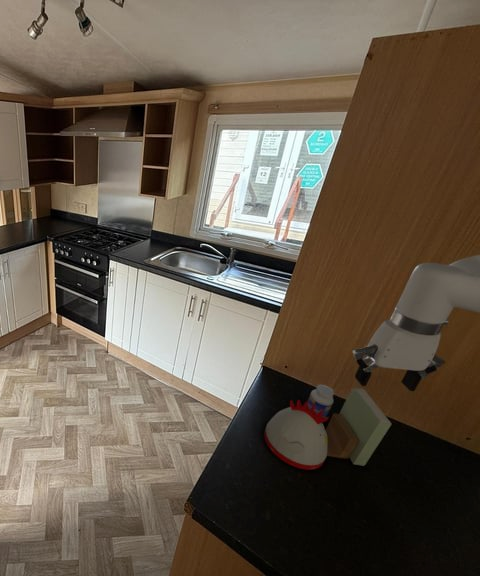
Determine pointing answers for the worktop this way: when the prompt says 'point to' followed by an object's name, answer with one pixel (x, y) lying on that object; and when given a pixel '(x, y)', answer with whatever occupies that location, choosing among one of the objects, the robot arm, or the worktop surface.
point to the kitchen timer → (298, 436)
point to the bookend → (340, 438)
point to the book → (364, 424)
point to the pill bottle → (321, 399)
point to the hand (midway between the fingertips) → (383, 384)
